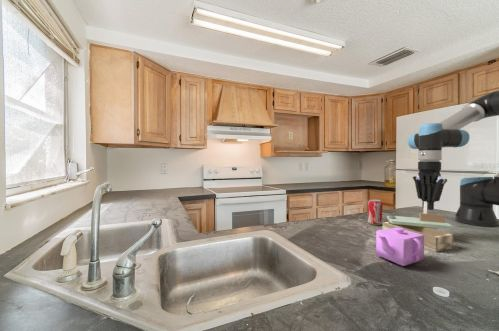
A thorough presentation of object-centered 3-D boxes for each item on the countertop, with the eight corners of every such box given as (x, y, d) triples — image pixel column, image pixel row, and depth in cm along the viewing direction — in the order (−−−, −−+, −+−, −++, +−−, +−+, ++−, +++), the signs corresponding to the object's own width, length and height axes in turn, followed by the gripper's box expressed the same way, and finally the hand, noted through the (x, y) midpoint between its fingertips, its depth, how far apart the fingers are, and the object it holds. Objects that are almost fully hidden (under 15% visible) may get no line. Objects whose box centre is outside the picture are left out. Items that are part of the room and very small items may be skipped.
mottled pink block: (400, 275, 60) (400, 239, 60) (357, 255, 73) (357, 225, 72) (438, 263, 67) (438, 230, 67) (392, 247, 80) (393, 219, 80)
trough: (398, 231, 97) (398, 220, 97) (453, 248, 79) (453, 234, 78) (382, 234, 94) (382, 222, 94) (435, 252, 75) (435, 237, 75)
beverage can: (370, 225, 106) (370, 201, 106) (366, 222, 112) (366, 198, 112) (384, 226, 105) (384, 201, 105) (379, 222, 111) (379, 199, 111)
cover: (391, 223, 91) (391, 213, 91) (386, 217, 100) (386, 208, 100) (453, 229, 83) (453, 218, 83) (441, 222, 93) (441, 212, 92)
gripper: (408, 160, 97) (406, 213, 98) (437, 161, 84) (435, 221, 85) (422, 160, 98) (420, 212, 99) (453, 161, 86) (451, 220, 86)
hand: (427, 216), depth 92 cm, fingers closed
